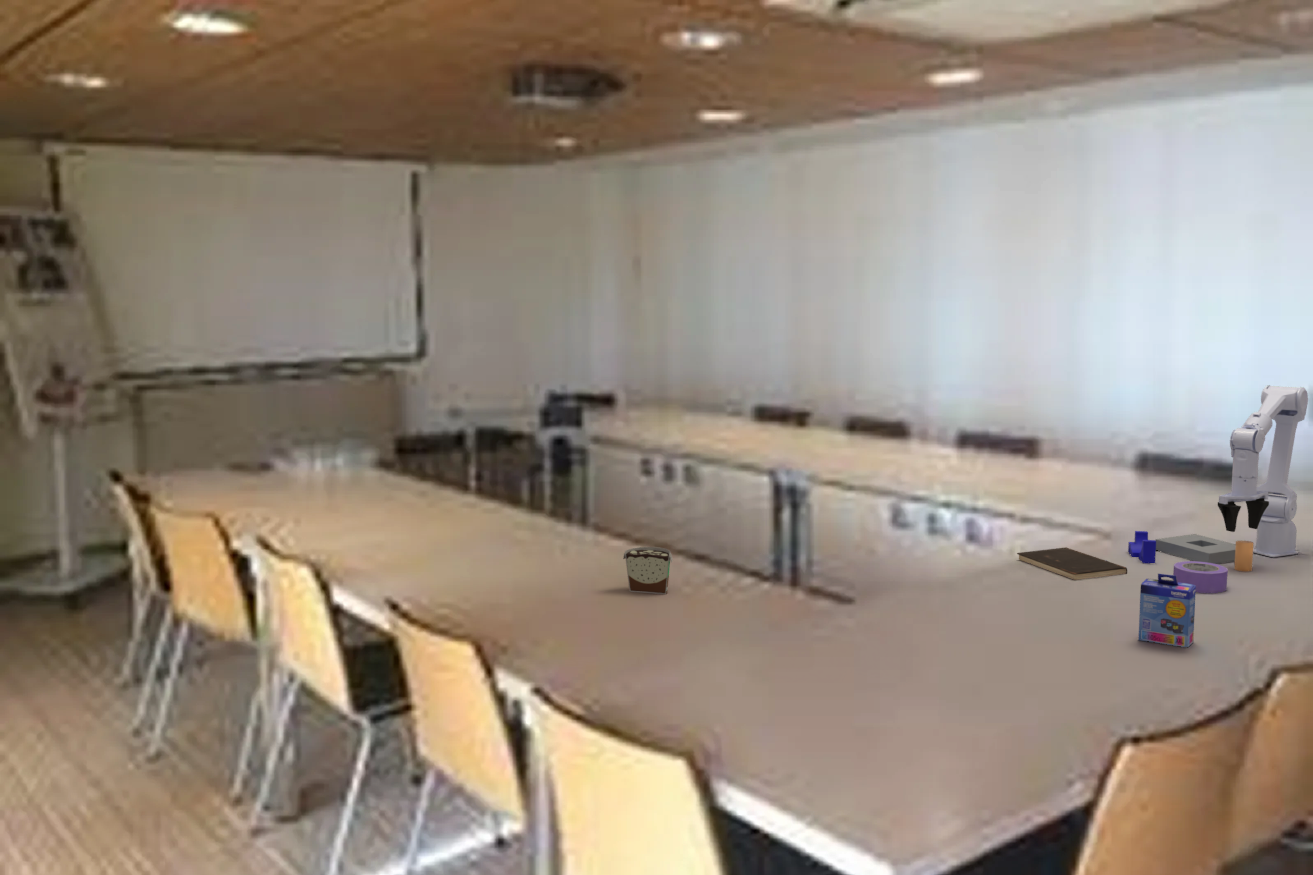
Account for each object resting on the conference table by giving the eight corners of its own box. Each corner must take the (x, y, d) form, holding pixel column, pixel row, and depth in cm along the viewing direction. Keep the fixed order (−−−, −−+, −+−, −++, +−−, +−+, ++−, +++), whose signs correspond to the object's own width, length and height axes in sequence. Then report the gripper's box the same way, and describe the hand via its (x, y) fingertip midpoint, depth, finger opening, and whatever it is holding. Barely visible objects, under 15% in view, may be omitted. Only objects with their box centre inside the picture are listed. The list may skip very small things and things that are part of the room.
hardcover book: (1074, 582, 299) (1074, 573, 299) (1016, 561, 321) (1017, 552, 320) (1127, 576, 304) (1127, 567, 304) (1067, 555, 326) (1067, 547, 325)
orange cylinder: (1242, 566, 309) (1243, 539, 308) (1255, 570, 305) (1257, 543, 304) (1230, 568, 307) (1232, 541, 306) (1243, 572, 304) (1245, 544, 303)
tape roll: (1226, 583, 294) (1227, 563, 294) (1226, 596, 284) (1227, 575, 283) (1173, 579, 299) (1174, 559, 299) (1171, 591, 289) (1172, 570, 288)
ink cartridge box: (1136, 641, 252) (1139, 572, 250) (1143, 634, 256) (1146, 566, 254) (1188, 649, 246) (1191, 579, 244) (1194, 641, 251) (1197, 572, 248)
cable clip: (1128, 552, 326) (1129, 530, 325) (1145, 553, 325) (1146, 531, 325) (1136, 563, 315) (1137, 541, 314) (1155, 564, 314) (1156, 541, 313)
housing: (1194, 544, 333) (1194, 533, 333) (1249, 559, 317) (1249, 547, 316) (1154, 550, 328) (1155, 539, 327) (1208, 565, 311) (1209, 553, 311)
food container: (680, 588, 298) (679, 548, 296) (672, 594, 292) (671, 553, 291) (632, 584, 302) (631, 545, 300) (623, 591, 296) (622, 550, 295)
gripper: (1236, 481, 298) (1233, 535, 300) (1279, 476, 304) (1276, 530, 306) (1213, 476, 305) (1210, 530, 307) (1256, 472, 310) (1253, 524, 312)
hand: (1241, 529), depth 307 cm, fingers open, 7 cm apart
